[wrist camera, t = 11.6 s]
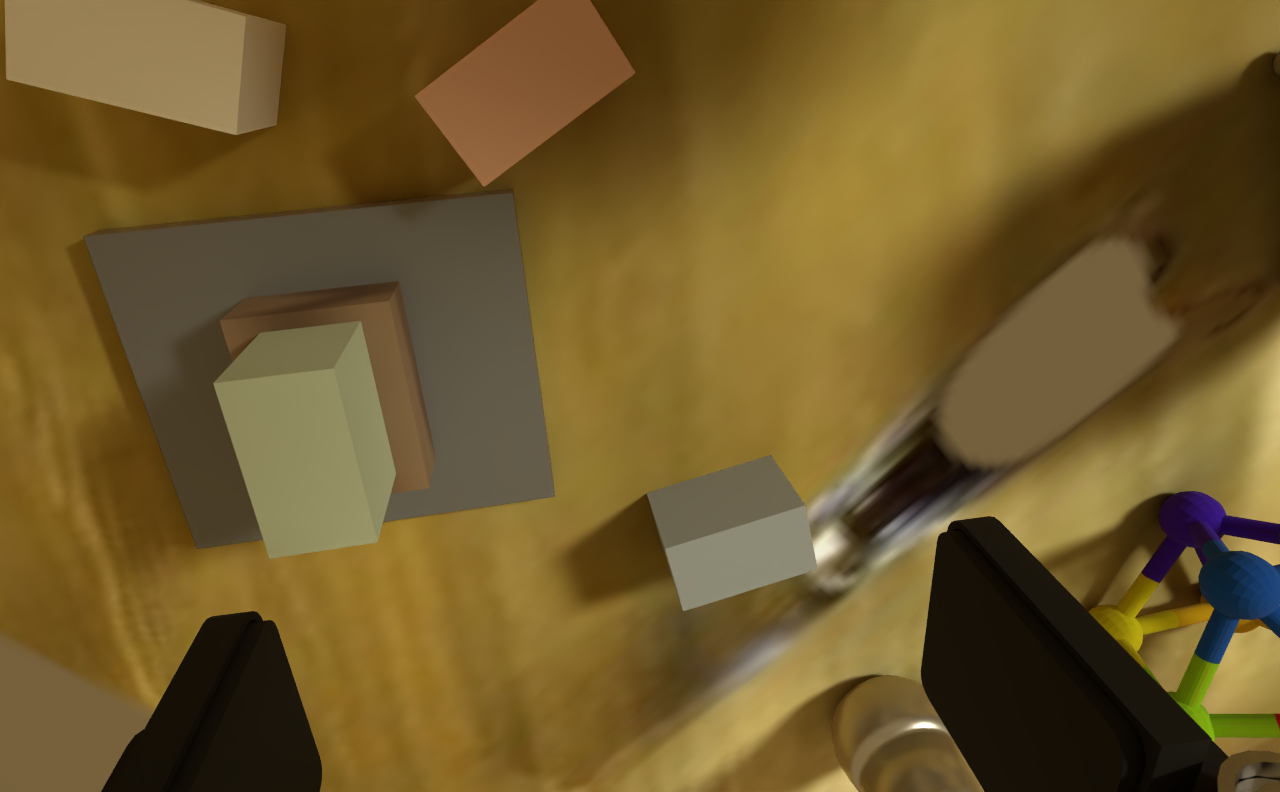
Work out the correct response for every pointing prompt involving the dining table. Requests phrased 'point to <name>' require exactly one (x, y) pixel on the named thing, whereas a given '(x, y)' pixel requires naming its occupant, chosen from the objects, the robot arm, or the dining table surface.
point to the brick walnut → (386, 351)
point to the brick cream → (152, 58)
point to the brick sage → (309, 437)
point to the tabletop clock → (1277, 64)
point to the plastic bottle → (897, 740)
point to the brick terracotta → (525, 84)
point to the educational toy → (1205, 603)
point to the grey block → (732, 531)
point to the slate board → (323, 259)
